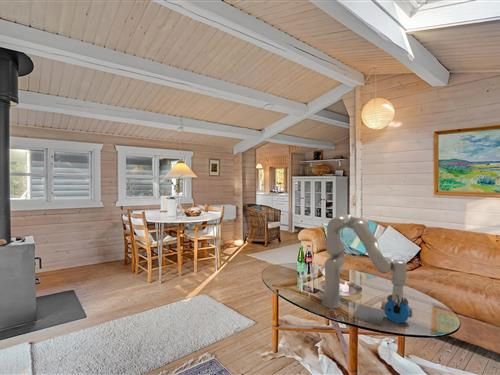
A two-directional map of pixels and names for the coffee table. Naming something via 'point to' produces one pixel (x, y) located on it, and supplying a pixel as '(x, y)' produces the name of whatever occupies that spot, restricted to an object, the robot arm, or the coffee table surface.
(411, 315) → the walnut block
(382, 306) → the tan egg shape
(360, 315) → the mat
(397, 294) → the robot arm
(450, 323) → the coffee table surface
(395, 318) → the alarm clock
